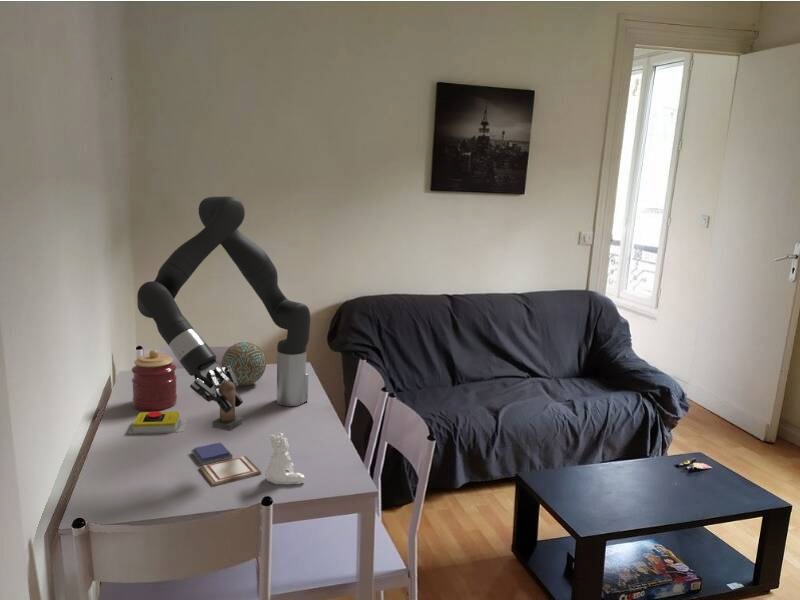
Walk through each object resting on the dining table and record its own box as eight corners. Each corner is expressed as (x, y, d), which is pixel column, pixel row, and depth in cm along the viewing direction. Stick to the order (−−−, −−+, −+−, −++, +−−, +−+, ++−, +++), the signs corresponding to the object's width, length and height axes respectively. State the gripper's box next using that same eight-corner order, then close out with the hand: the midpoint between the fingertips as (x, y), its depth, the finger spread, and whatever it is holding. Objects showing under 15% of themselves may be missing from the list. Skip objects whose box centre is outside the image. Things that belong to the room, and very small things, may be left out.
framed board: (245, 458, 158) (245, 454, 158) (261, 474, 150) (261, 470, 150) (199, 468, 151) (199, 465, 151) (212, 486, 143) (212, 482, 143)
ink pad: (221, 446, 164) (221, 441, 163) (232, 458, 157) (232, 452, 157) (191, 453, 159) (191, 447, 159) (201, 465, 153) (201, 459, 152)
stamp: (224, 420, 151) (225, 376, 149) (242, 423, 150) (242, 380, 147) (212, 427, 147) (212, 382, 144) (229, 431, 145) (230, 386, 143)
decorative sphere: (266, 390, 208) (266, 348, 205) (220, 392, 204) (220, 349, 201) (265, 376, 222) (265, 337, 219) (222, 378, 218) (222, 337, 216)
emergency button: (133, 408, 177) (187, 406, 180) (134, 422, 178) (188, 420, 181) (126, 420, 168) (183, 419, 171) (126, 435, 169) (183, 433, 172)
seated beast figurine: (307, 484, 146) (308, 437, 144) (273, 492, 142) (273, 444, 139) (291, 467, 154) (292, 423, 152) (258, 475, 149) (259, 429, 147)
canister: (150, 415, 182) (148, 358, 179) (123, 405, 189) (121, 350, 186) (186, 402, 193) (185, 349, 190) (159, 393, 200) (158, 342, 197)
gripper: (181, 349, 140) (226, 408, 139) (219, 336, 153) (260, 390, 152) (163, 368, 143) (207, 426, 141) (202, 353, 156) (242, 406, 154)
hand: (234, 407), depth 147 cm, fingers closed on stamp, 3 cm apart
